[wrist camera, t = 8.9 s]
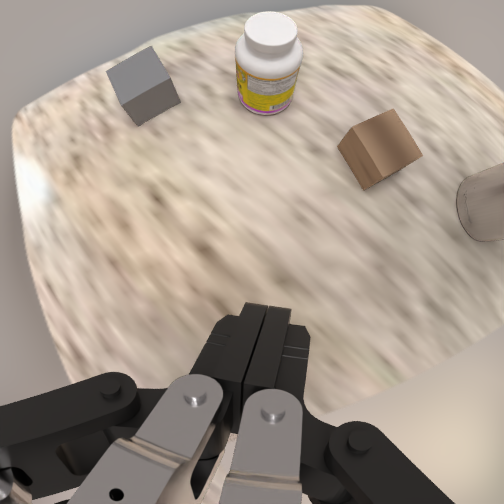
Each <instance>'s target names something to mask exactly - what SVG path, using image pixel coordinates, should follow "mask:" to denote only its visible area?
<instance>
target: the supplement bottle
mask: <svg viewBox="0 0 504 504" xmlns="http://www.w3.org/2000/svg"><path fill="white" fill-rule="evenodd" d="M297 32H298V30H297V26H296V24H295V22H294V21H293V20H292V19H291V18H290V17H288V16H286V15H284V14H282V13H278V12H261V13H257V14H255V15H253V16H251V17H250V18H249V19H248V20H247V21H246V23H245V27H244V33H243V34H242V35H241V36H240V38H239V39H238V41H237V43H236V46H235V60H236V75H237V89H238V96H239V99H240V101H241V103H242V104H243V105H244V106H245V107H246V108H247V109H248V110H250V111H252V112H254V113H257V114H262V115H271V114H276V113H278V112H281V111H282V110H284V109H285V108H286V107H287V106H288V105H289V104H290V102H291V100H292V97H293V93H294V90H295V86H296V81H297V77H298V74H299V70H300V66H301V62H302V58H303V47H302V44H301V42H300V41H299V39H298V38H297Z"/></svg>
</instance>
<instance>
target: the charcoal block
mask: <svg viewBox="0 0 504 504" xmlns="http://www.w3.org/2000/svg"><path fill="white" fill-rule="evenodd" d="M106 73H107V75H108V77H109V79H110V82H111V84H112V86H113V88H114V91H115V93H116V95H117V97H118V100H119V102H120V104H121V106H122V107H123V108H124V110H125V111H126V112H127V113H128V115H129V116H130V117H131V118H132V120H133V121H134V122H135V123H136V125H137V126H140V125H141V124H143V123H145V122H147V121H148V120H150V119H152V118H153V117H155V116H157V115H159V114H161V113H162V112H164V111H166V110H168V109H170V108H171V107H173V106H175V105H177V104H179V103H181V102H180V99H179V97H178V94H177V92H176V90H175V87H174V85H173V83H172V80H171V78H170V76H169V74H168V73H167V71H166V69H165V68H164V66H163V64H162V63H161V61H160V59H159V58H158V56H157V54H156V52H155V51H154V49H153V47H152V46H150V47H148V48H146V49H144V50H142V51H140V52H139V53H137V54H135V55H133V56H131V57H129V58H128V59H126V60H124V61H122V62H121V63H119V64H117V65H116V66H114V67H112V68H111V69H109V70H107V71H106Z"/></svg>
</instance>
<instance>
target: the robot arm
mask: <svg viewBox="0 0 504 504" xmlns="http://www.w3.org/2000/svg"><path fill="white" fill-rule="evenodd" d="M457 209H458V214H459V218H460V220H461V223H462V225H463V227H464V229H465V230H466V231H467V233H468V234H469V235H470V236H471V237H472V238H474V239H476V240H478V241H493V240H504V163H502V164H499V165H497V166H494V167H492V168H489V169H487V170H484V171H482V172H479V173H477V174H474V175H472V176H469V177H467V178H466V179H465V180H464V181H463V182H462V183H461V185H460V187H459V190H458V195H457ZM290 317H291V309H289V308H281V307H274V306H269V308H268V306H267V305H260V304H254V303H247V302H246V303H245V305H244V307H243V309H242V311H241V314H240V316H234V315H226V316H225V317H224V318H222V319H221V320H219V321H218V322H217V323H216V325H215V327H214V329H213V330H212V332H211V335H210V336H209V338H208V340H207V343H205V345H204V347H203V349H202V351H201V353H200V355H199V357H198V358H197V360H196V362H195V364H194V366H193V368H192V370H191V371H190V373H189V375H185V376H182V377H180V378H178V379H176V380H175V381H174V382H172V384H171V385H170V386H169V387H168V388H165V389H141V388H137V386H136V384H135V382H134V380H133V379H132V378H131V377H130V376H128V375H126V374H123V373H119V372H108V373H104V374H101V375H98V376H95V377H92V378H89V379H86V380H83V381H80V382H77V383H74V384H71V385H69V386H66V387H62V388H59V389H56V390H53V391H50V392H47V393H44V394H41V395H37V396H34V397H30V398H27V399H24V400H20V401H17V402H14V403H10V404H7V405H4V406H0V504H32V500H34V499H38V498H42V497H46V496H49V495H53V494H56V493H60V492H63V491H66V490H69V489H73V488H76V487H79V486H80V487H79V488H78V489H77V491H76V492H75V494H74V495H73V496H72V497H71V499H69V500H64V501H61V502H58V503H55V504H201V502H202V500H203V498H204V496H205V494H206V492H207V489H208V487H209V485H210V483H211V481H212V479H213V477H214V475H215V473H216V470H217V468H218V466H219V464H220V462H221V460H222V457H223V455H224V452H225V446H226V444H227V441H228V438H229V435H230V433H235V434H238V437H237V441H236V446H235V450H234V455H233V459H232V464H231V468H230V471H229V474H227V476H226V478H225V481H224V485H223V489H222V493H221V497H220V501H219V504H301V501H302V493H304V494H306V495H308V497H309V499H310V501H311V502H312V504H455V503H454V502H453V501H452V500H451V499H449V498H448V497H447V496H446V495H445V494H444V493H443V492H442V491H441V490H440V489H439V488H438V487H437V486H436V485H435V484H434V483H433V482H432V481H431V480H430V479H429V478H428V477H427V476H426V475H425V474H424V473H422V472H421V471H420V470H419V469H418V468H417V467H416V466H415V465H414V464H413V463H412V462H411V461H410V460H409V459H408V458H407V457H406V456H405V455H404V454H403V453H402V452H401V451H400V450H399V449H398V448H397V447H396V446H395V445H394V444H393V443H392V442H391V441H390V440H389V439H388V438H387V437H386V436H385V435H384V434H383V433H382V432H381V431H380V430H379V429H378V428H376V427H375V426H373V425H371V424H369V423H366V422H360V421H353V422H348V423H344V424H342V425H340V426H339V427H335V426H332V425H330V424H327V423H324V422H322V421H320V420H318V419H317V418H315V417H314V416H313V415H311V414H310V412H309V411H308V410H307V408H306V407H305V404H304V400H303V395H304V387H305V380H306V372H307V364H308V355H309V346H310V335H309V333H308V331H307V329H306V327H305V326H300V325H292V324H290Z"/></svg>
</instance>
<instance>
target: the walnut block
mask: <svg viewBox="0 0 504 504" xmlns="http://www.w3.org/2000/svg"><path fill="white" fill-rule="evenodd" d="M337 147H338V149H339V150H340V152H341V154H342V155H343V157H344V158H345V160H346V162H347V163H348V165H349V167H350V168H351V170H352V172H353V173H354V175H355V177H356V178H357V180H358V182H359V184H360V185H361V187H362V189H363V190H365V189H367V188H369V187H371V186H372V185H374V184H376V183H378V182H380V181H381V180H383V179H385V178H387V177H388V176H390V175H392V174H394V173H396V172H397V171H399V170H401V169H403V168H404V167H406V166H407V165H409V164H410V163H412V162H414V161H415V160H417V159H418V158H420V157H422V156H423V155H422V153H421V151H420V150H419V148H418V146H417V145H416V143H415V141H414V140H413V138H412V136H411V135H410V133H409V132H408V130H407V128H406V127H405V125H404V124H403V122H402V121H401V119H400V118H399V116H398V115H397V113H396V112H395V110H394V109H391V110H389V111H387V112H384V113H382V114H380V115H377V116H375V117H373V118H371V119H368V120H366V121H364V122H362V123H359V124H357V125H355V126H353V127H351V129H350V130H349V131H348V133H347V134H346V135H345V137H344V138H343V139H342V141H341V142H340V143H339V145H338V146H337Z"/></svg>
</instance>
